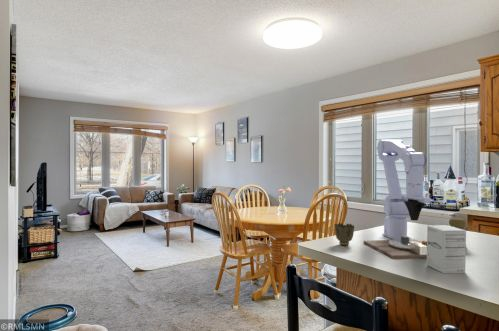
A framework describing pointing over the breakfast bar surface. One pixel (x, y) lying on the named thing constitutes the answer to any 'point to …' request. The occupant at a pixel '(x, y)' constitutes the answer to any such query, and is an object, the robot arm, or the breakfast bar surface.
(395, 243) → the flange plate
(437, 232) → the supplement box
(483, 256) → the breakfast bar surface
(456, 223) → the cork
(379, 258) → the breakfast bar surface
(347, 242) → the cup
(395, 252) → the board
